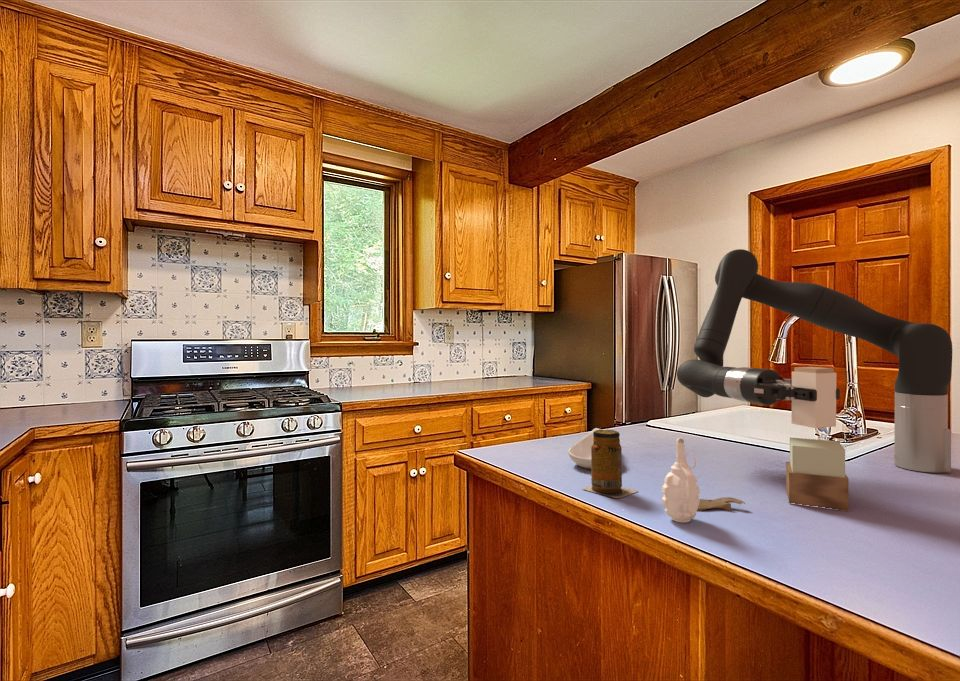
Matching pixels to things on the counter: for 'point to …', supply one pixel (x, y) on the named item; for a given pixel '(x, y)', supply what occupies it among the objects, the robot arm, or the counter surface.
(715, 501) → the jawbone
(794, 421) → the tea tin
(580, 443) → the spoon rest
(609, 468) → the condiment
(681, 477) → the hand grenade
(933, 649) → the counter surface
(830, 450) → the middle block
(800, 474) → the bottom block
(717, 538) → the counter surface
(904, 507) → the counter surface
